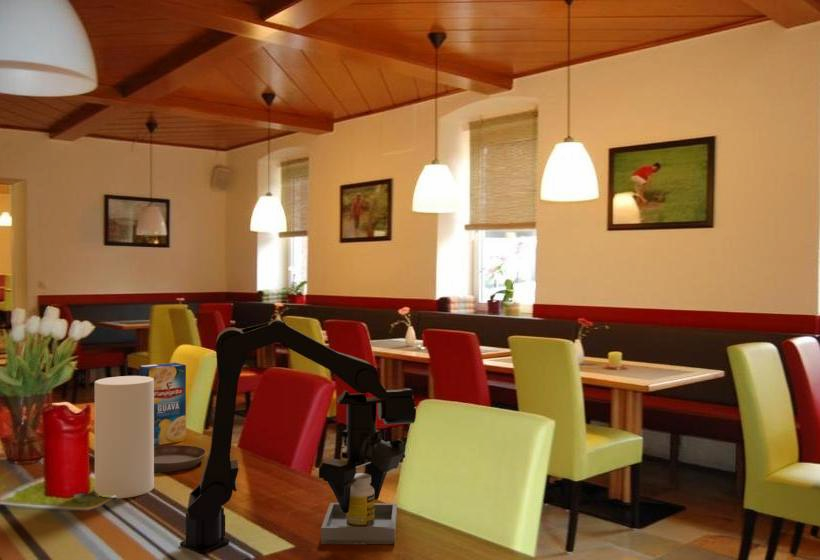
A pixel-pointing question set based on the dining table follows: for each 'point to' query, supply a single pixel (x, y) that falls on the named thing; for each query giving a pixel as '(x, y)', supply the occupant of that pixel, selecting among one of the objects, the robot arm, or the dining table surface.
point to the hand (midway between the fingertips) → (360, 505)
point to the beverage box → (168, 401)
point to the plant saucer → (177, 457)
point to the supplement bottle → (361, 502)
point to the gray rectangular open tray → (380, 533)
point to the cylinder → (124, 436)
